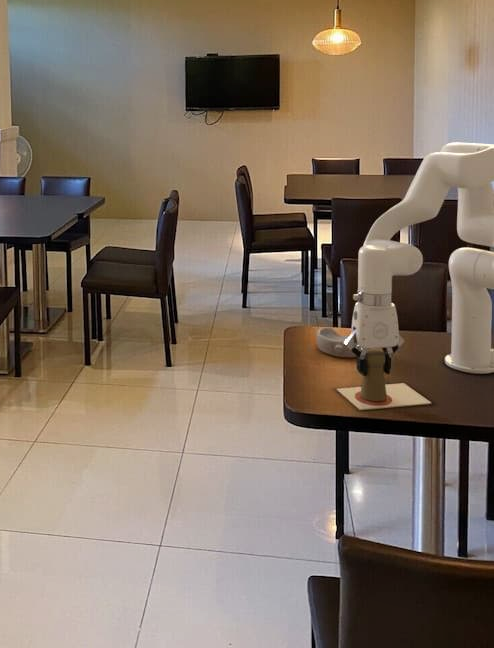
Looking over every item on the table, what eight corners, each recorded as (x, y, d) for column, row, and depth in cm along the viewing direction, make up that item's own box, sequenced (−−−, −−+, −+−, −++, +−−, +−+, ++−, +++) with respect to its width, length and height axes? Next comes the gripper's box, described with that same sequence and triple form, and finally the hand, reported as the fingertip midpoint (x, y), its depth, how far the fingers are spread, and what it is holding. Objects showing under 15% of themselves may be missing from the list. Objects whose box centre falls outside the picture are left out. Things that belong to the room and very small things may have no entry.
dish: (312, 342, 215) (312, 325, 215) (360, 342, 215) (360, 325, 215) (324, 360, 201) (324, 342, 201) (375, 360, 200) (375, 342, 200)
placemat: (403, 384, 184) (403, 382, 184) (431, 403, 172) (431, 401, 172) (336, 389, 181) (336, 387, 181) (360, 410, 169) (360, 408, 169)
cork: (388, 402, 172) (389, 356, 171) (361, 400, 173) (362, 354, 172) (384, 391, 177) (385, 347, 177) (358, 390, 179) (359, 346, 178)
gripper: (348, 304, 168) (347, 381, 170) (416, 300, 171) (415, 376, 172) (333, 296, 176) (333, 369, 177) (399, 292, 178) (398, 364, 180)
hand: (373, 372), depth 175 cm, fingers closed on cork, 5 cm apart
